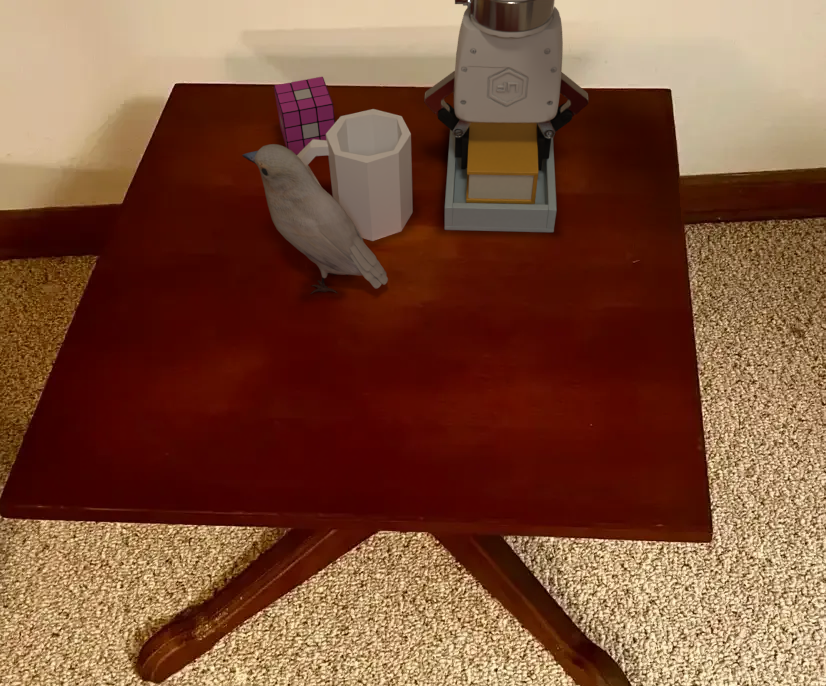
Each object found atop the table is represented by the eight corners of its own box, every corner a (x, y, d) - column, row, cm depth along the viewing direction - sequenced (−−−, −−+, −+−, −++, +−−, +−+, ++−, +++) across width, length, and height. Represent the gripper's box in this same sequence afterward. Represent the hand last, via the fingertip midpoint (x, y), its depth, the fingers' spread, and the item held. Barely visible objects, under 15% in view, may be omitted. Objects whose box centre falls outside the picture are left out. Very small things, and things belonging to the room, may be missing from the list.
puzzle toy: (280, 127, 103) (273, 84, 98) (327, 118, 103) (322, 75, 99) (288, 156, 99) (281, 113, 95) (337, 147, 100) (333, 103, 95)
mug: (414, 187, 94) (412, 108, 87) (410, 241, 89) (408, 163, 81) (304, 186, 96) (293, 109, 88) (294, 240, 90) (281, 162, 83)
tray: (548, 133, 99) (551, 110, 97) (553, 232, 89) (556, 210, 86) (451, 132, 100) (451, 109, 98) (444, 230, 90) (444, 207, 88)
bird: (275, 248, 90) (251, 124, 78) (397, 279, 86) (391, 154, 74) (253, 279, 87) (225, 156, 75) (378, 314, 83) (368, 189, 71)
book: (534, 204, 89) (538, 172, 86) (465, 202, 90) (467, 171, 87) (532, 133, 96) (535, 101, 93) (469, 132, 97) (470, 101, 94)
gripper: (413, 23, 77) (416, 183, 91) (613, 22, 76) (586, 186, 89) (418, -19, 82) (421, 139, 96) (607, -21, 80) (582, 141, 94)
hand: (501, 160), depth 92 cm, fingers closed on book, 7 cm apart
